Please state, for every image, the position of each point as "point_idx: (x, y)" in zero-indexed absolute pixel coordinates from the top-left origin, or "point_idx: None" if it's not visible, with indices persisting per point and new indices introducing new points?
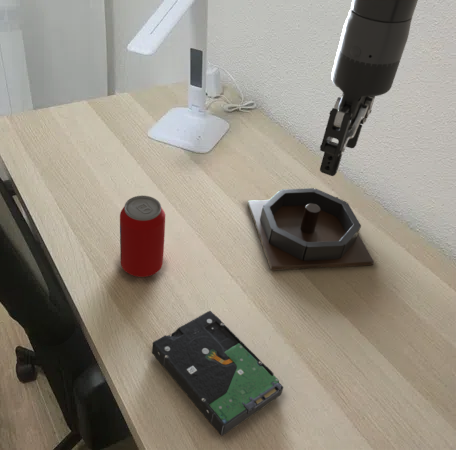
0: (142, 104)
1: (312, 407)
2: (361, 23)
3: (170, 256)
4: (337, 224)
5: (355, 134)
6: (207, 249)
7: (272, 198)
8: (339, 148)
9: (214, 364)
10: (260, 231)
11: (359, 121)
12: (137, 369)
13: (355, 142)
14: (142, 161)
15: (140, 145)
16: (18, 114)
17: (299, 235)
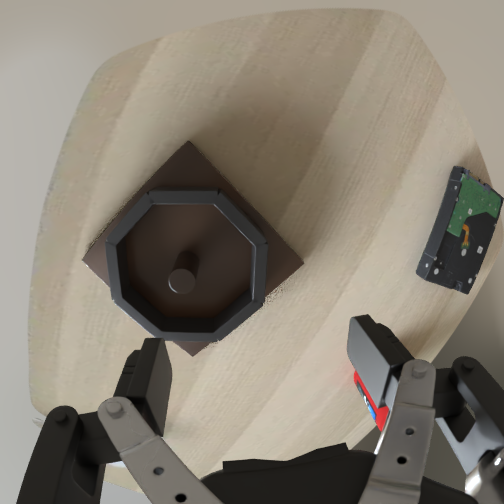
0: (136, 482)
1: (446, 133)
2: None
3: (347, 358)
4: (141, 229)
5: (154, 378)
6: (313, 340)
7: (190, 339)
8: (489, 377)
9: (471, 236)
10: None
11: (405, 466)
12: None
13: (159, 351)
14: (217, 453)
15: (195, 464)
16: None
17: (210, 264)
